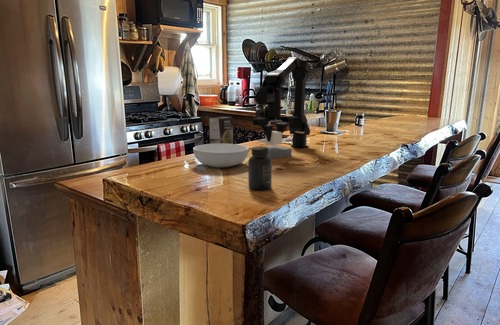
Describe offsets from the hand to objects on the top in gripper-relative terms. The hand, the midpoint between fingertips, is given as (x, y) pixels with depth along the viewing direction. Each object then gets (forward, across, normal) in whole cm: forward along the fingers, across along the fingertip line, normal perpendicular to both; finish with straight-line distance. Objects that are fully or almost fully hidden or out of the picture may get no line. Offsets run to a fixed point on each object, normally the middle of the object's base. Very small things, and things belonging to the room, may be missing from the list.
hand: (273, 140), depth 154 cm
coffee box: (+6, +16, -16) cm, 24 cm away
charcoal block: (+7, 0, 0) cm, 7 cm away
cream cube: (+1, 0, 0) cm, 1 cm away
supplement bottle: (+6, +36, +35) cm, 51 cm away
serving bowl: (+7, +28, +2) cm, 29 cm away
